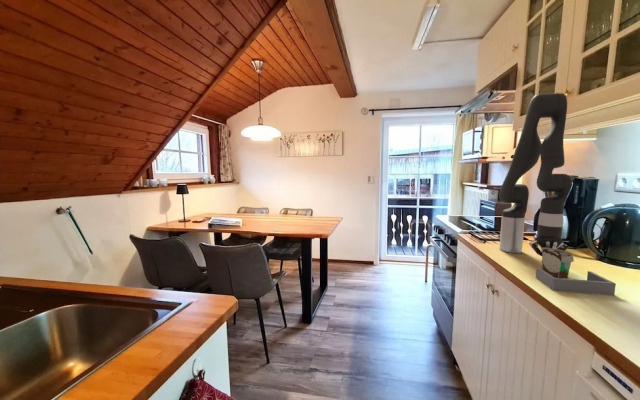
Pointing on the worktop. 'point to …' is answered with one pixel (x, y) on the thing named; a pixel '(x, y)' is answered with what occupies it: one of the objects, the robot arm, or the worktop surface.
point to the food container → (556, 262)
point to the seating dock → (578, 283)
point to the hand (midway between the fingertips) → (546, 266)
